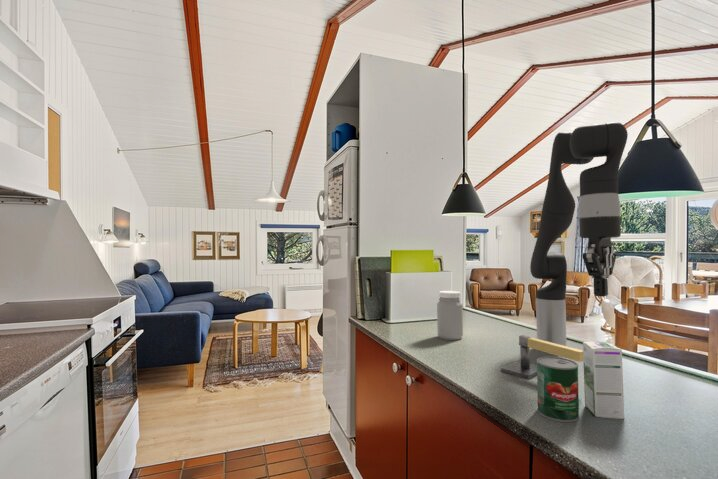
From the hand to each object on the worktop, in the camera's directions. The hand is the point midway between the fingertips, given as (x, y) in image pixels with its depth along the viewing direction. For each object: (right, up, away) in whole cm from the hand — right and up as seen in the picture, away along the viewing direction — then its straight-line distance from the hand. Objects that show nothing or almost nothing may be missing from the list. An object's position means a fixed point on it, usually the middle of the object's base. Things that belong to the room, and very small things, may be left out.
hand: (600, 295), depth 80 cm
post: (-5, -26, +26) cm, 37 cm away
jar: (-16, -27, +65) cm, 73 cm away
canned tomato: (-10, -25, -1) cm, 27 cm away
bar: (-1, -18, +20) cm, 27 cm away
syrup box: (0, -25, 0) cm, 25 cm away
